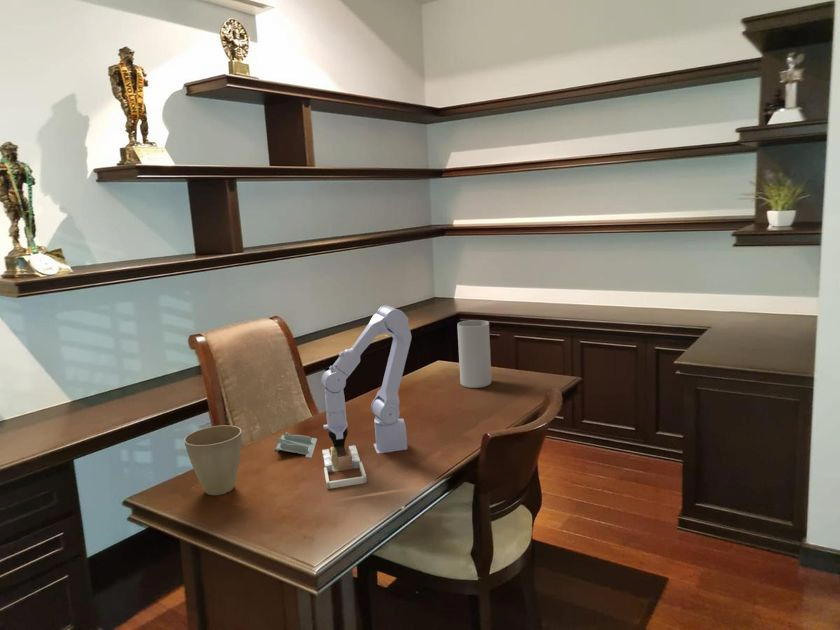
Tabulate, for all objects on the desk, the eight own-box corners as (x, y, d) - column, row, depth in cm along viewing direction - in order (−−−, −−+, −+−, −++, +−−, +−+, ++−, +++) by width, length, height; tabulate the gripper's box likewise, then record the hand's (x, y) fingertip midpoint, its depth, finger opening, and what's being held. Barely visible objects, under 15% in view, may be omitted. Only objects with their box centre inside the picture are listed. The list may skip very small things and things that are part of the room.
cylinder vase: (458, 380, 257) (454, 321, 252) (487, 378, 258) (485, 319, 253) (463, 389, 245) (460, 327, 240) (494, 386, 246) (492, 325, 241)
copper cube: (351, 462, 182) (350, 449, 181) (352, 468, 178) (351, 455, 177) (337, 464, 181) (336, 451, 180) (338, 470, 177) (337, 457, 177)
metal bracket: (273, 445, 186) (281, 426, 201) (269, 462, 187) (278, 443, 202) (320, 454, 188) (325, 435, 202) (316, 471, 189) (322, 451, 203)
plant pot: (258, 487, 171) (251, 432, 168) (207, 508, 161) (199, 450, 158) (231, 472, 182) (225, 420, 179) (182, 491, 172) (174, 436, 169)
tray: (362, 469, 179) (361, 461, 178) (367, 484, 169) (366, 477, 168) (324, 474, 177) (323, 467, 176) (327, 490, 167) (326, 483, 166)
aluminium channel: (355, 453, 190) (355, 445, 190) (360, 469, 179) (360, 460, 178) (323, 457, 188) (322, 449, 188) (325, 474, 177) (325, 465, 176)
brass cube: (345, 458, 186) (343, 445, 185) (346, 463, 182) (345, 450, 181) (331, 460, 185) (330, 447, 184) (332, 465, 181) (331, 452, 180)
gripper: (320, 404, 190) (324, 446, 192) (323, 420, 176) (328, 464, 178) (343, 401, 191) (347, 442, 194) (348, 416, 177) (352, 461, 180)
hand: (339, 453), depth 186 cm, fingers closed
